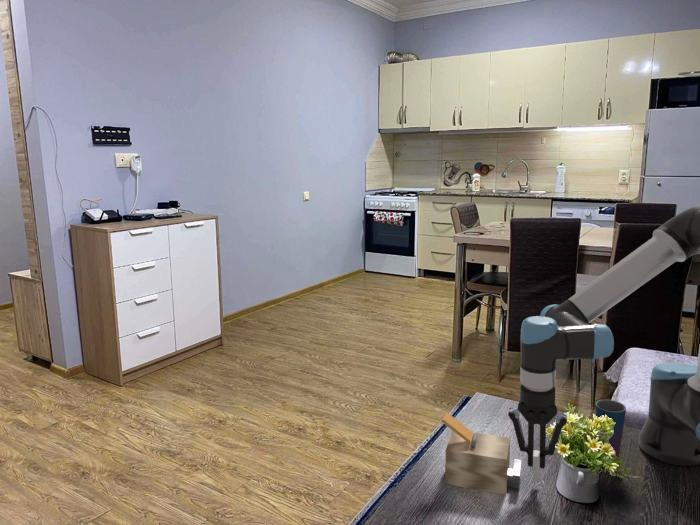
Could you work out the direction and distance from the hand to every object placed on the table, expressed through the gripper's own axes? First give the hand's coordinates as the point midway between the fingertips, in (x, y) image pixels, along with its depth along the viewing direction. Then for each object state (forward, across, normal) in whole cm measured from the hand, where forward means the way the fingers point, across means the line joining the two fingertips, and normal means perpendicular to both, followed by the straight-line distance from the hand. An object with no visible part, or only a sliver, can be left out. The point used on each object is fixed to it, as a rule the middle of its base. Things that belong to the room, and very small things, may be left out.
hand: (536, 478), depth 124 cm
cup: (+3, -17, -17) cm, 24 cm away
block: (+2, +13, 0) cm, 14 cm away
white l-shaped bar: (+2, +13, 0) cm, 13 cm away
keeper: (-10, +18, 0) cm, 20 cm away
